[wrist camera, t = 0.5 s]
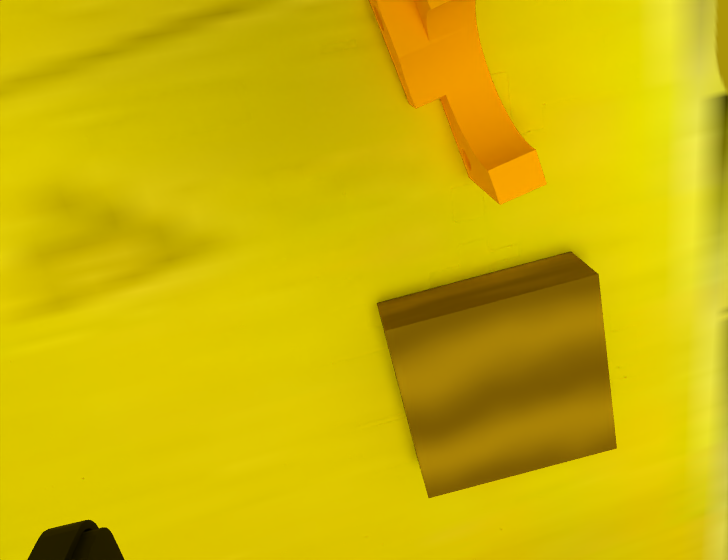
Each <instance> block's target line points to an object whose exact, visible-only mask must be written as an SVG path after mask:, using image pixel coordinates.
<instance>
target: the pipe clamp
mask: <svg viewBox="0 0 728 560" xmlns="http://www.w3.org/2000/svg"><path fill="white" fill-rule="evenodd" d="M369 2H370V4H371V7H372V10H373V12H374V15H375V17H376V20H377V22H378V25H379V28H380V30H381V33H382V35H383V38H384V40H385V43H386V46H387V48H388V51H389V53H390V56H391V58H392V61H393V64H394V66H395V69H396V71H397V74H398V76H399V79H400V82H401V84H402V87H403V89H404V92H405V94H406V97H407V99H408V102H409V104H410V105H412V106H413V107H415V108H418V107H420V106H423V105H425V104H427V103H429V102H431V101H434V100H436V99H438V98H440V100H441V103H442V105H443V108H444V111H445V113H446V116H447V119H448V122H449V124H450V127H451V130H452V132H453V135H454V138H455V141H456V143H457V146H458V149H459V151H460V154H461V157H462V160H463V162H464V165H465V168H466V170H467V173H468V176H469V178H470V179H471V180H472V181H474V182H475V183H476V184H477V185H478V186H479V187H480V188H482V189H483V190H484V191H485V192H486V193H487V194H488V195H489V196H491V197H492V198H493V199H494V200H495V201H496V202H497V203H499V204H503V203H505V202H507V201H510V200H512V199H514V198H516V197H519V196H521V195H523V194H525V193H528V192H530V191H532V190H534V189H537V188H539V187H541V186H544V185H546V180H545V177H544V174H543V171H542V168H541V165H540V162H539V158H538V155H537V152H536V149H534V148H532V147H531V146H530V145H529V144H528V143H527V142H526V141H525V140H524V139H523V137H522V136H521V135H520V133H519V132H518V131H517V129H516V128H515V126H514V125H513V123H512V121H511V120H510V118H509V116H508V114H507V112H506V110H505V108H504V106H503V104H502V102H501V100H500V98H499V96H498V94H497V91H496V89H495V86H494V84H493V81H492V79H491V76H490V73H489V71H488V68H487V65H486V61H485V58H484V55H483V51H482V47H481V43H480V39H479V34H478V29H477V23H476V13H475V0H369Z"/></svg>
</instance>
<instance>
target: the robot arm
mask: <svg viewBox="0 0 728 560" xmlns="http://www.w3.org/2000/svg"><path fill="white" fill-rule="evenodd" d="M28 560H124V558H123V556H122V554H121V551H120V549H119V547H118V545H117V543H116V541H115V539H114V537H113V535H112V533H111V531H110V530H109V529H108V528H98V526H97V525H96V523H94V522H93V521H92V520H85V521H80V522H76V523H72V524H68V525H63V526H59V527H55V528H51V529H48V530H46V531H44V532H43V533H42V534H41V536H40V537H39V539H38V541H37V542H36V544H35V546H34V548H33V550H32V552H31V554H30V556H29V558H28Z"/></svg>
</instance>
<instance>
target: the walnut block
mask: <svg viewBox="0 0 728 560" xmlns="http://www.w3.org/2000/svg"><path fill="white" fill-rule="evenodd" d="M377 306H378V309H379V313H380V317H381V321H382V325H383V328H384V332H385V336H386V340H387V344H388V347H389V351H390V355H391V359H392V363H393V366H394V370H395V374H396V378H397V382H398V385H399V389H400V393H401V397H402V401H403V404H404V408H405V412H406V416H407V420H408V423H409V427H410V431H411V435H412V439H413V442H414V446H415V450H416V454H417V458H418V461H419V465H420V469H421V472H422V476H423V479H424V483H425V487H426V490H427V494H428V498H431V497H435V496H439V495H443V494H446V493H450V492H454V491H458V490H462V489H465V488H469V487H473V486H477V485H480V484H484V483H488V482H492V481H495V480H499V479H503V478H507V477H510V476H514V475H518V474H522V473H526V472H529V471H533V470H537V469H541V468H544V467H548V466H552V465H556V464H559V463H563V462H567V461H571V460H575V459H578V458H582V457H586V456H590V455H593V454H597V453H601V452H605V451H608V450H612V449H616V448H617V446H616V436H615V427H614V418H613V408H612V399H611V389H610V380H609V370H608V361H607V351H606V342H605V332H604V323H603V313H602V304H601V294H600V285H599V275H598V274H597V273H596V272H595V271H594V270H593V269H591V268H590V267H589V266H588V265H587V264H585V263H584V262H583V261H582V260H581V259H579V258H578V257H577V256H576V255H575V254H573V253H572V252H568V253H564V254H560V255H557V256H553V257H549V258H545V259H542V260H538V261H534V262H530V263H527V264H523V265H519V266H515V267H512V268H508V269H504V270H500V271H497V272H493V273H489V274H485V275H482V276H478V277H474V278H470V279H467V280H463V281H459V282H455V283H451V284H448V285H444V286H440V287H436V288H433V289H429V290H425V291H421V292H418V293H414V294H410V295H406V296H403V297H399V298H395V299H391V300H388V301H384V302H380V303H377Z"/></svg>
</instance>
